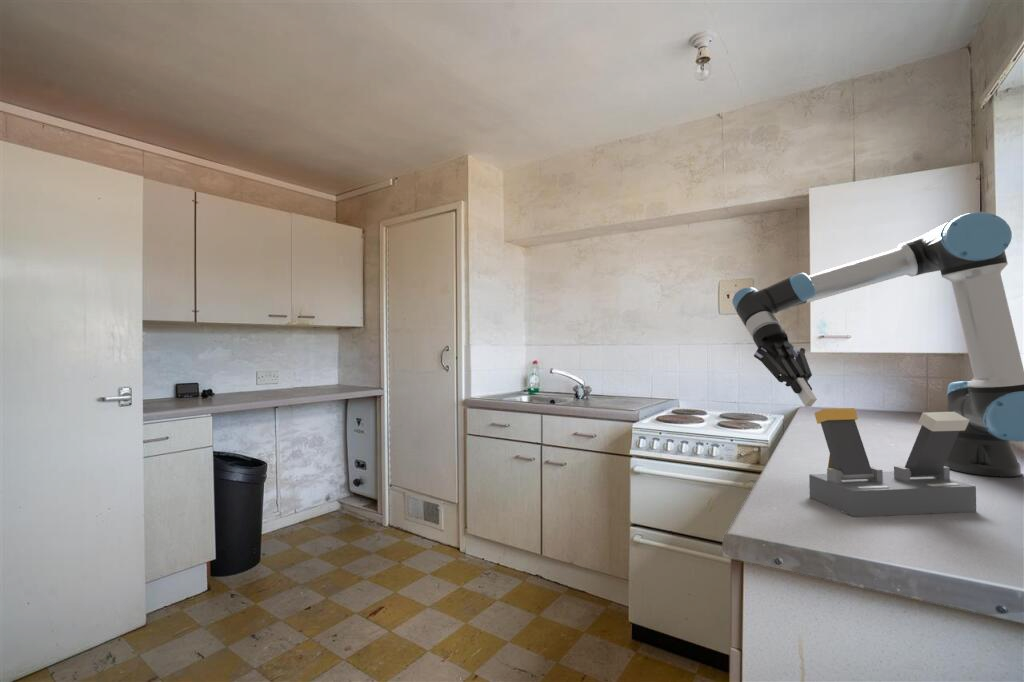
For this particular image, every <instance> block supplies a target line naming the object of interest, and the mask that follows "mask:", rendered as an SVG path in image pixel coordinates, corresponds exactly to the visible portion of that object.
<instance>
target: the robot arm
mask: <svg viewBox="0 0 1024 682" xmlns="http://www.w3.org/2000/svg"><path fill="white" fill-rule="evenodd" d="M1012 233H1013V232H1012V230H1011V226H1010V224H1008V223H1007V221H1006V220H1004V218H1002V217H1001V216H998V215H996V214H993V213H990V212H984V211H976V212H970V213H965V214H961V215H959V216H955V217H954V218H952V219H950V220H949V221H947V222H946V223H944V224H942V225H939V226H937V227H935V228H934V229H932V230H929V232H926V233H924V234H923V235H921V236H918V237H916V238H914V239H912V240H909V241H906V242H903V243H899V244H898V246H897V248H894V249H892V250H889V251H886V252H881V253H879V254H875V255H873V256H868V257H865V258H861V259H860V260H856V261H852V262H849V263H846V264H843V265H840V266H836V267H832V268H829V269H825V270H823V271H820V272H818V273H813V274H810V275H808V274H807V273H805V272H800V273H797V274H795V275H790V276H788V277H787V278H784V279H782V280H781V281H778V282H775V283H774V284H772V285H770V286H768V287H766V288H763V289H760V290H758V289H756V288H755V287H751V286H750V287H744V288H741V289H739V290H738V291H737V292H736V293H735V294H733V297H732V305H733V307H734V309H735V312H736V314H737V316H738V317H739V318H740V320H741V321H742V324H743V325H744V327H745V328H746V330H747V332H748V333H749V335H750V337H751V338H752V340H753V342H754V343H755V346H756V347H757V349H756V350H755V353H754V354H753V357H754V358H755V359H757V360H759V361H760V362H761V364H762V365H764V367H765V368H766V369H767V370H768V371H769V372H770V373H771V374H772V375H773V377H774V378H775V379H776V380H777V381H778V382H779V383H783V382H785V384H784V385H785V386H786V387H789V388H791V389H792V391H793V393H795V394H796V395H798V398H799V399H800V400H801V403H802V404H803V405H804V407H808V408H809V407H812V406H813V405H814V404H815V402H816V401H817V400H818V399H817V397H816V396H815V394H814V392H813V388H812V386H811V385H810V383H809V382H808V381H809V380H810V378H811V377H812V376H813V374H812V370H811V368H810V365H809V363H808V359H807V357H806V349H805V348H803V347H800V349H799V348H796V347H795V346H794V345H793V344H792V343H791V342H790V341H789V336H788V334H787V333H786V331H785V330H784V328H783V326H782V325H781V324H780V322H779V321H778V319H777V318H776V316H775V315H774V314H777V313H779V312H782V311H785V310H789V309H790V308H794V307H797V306H798V307H799V306H801V305H802V306H803V305H804V304H805V305H806V304H807V303H811V302H812V303H813V302H814V301H818V300H823V299H824V298H828V297H834V296H836V295H839V294H843V293H846V292H849V291H853V290H856V289H860V288H864V287H867V286H870V285H874V284H878V283H882V282H885V281H889V280H893V279H896V278H900V277H903V276H909V277H917V276H919V275H924V274H928V273H929V274H930V273H933V272H939V271H940V275H941V277H942V278H943V279H945V280H947V281H949V282H951V285H952V289H953V293H954V298H955V302H956V307H957V311H958V315H959V318H960V324H961V329H962V331H963V336H964V341H965V344H966V349H967V353H968V358H969V362H970V367H971V371H972V375H973V378H972V379H971V380H969V381H965V380H964V381H953V382H950V383H949V384H948V385H947V392H946V398H947V399H946V401H947V404H946V405H947V412H956V413H958V414H959V415H961V416H963V417H965V418H967V419H969V420H970V421H969V423H968V425H967V427H966V429H965V431H960V432H959V434H958V436H957V438H956V441H955V443H954V445H953V447H952V450H951V452H950V454H949V456H948V458H947V461H946V463H945V465H944V466H945V467H949V468H950V470H951V471H957V472H961V473H965V474H966V473H967V474H972V475H978V476H979V475H980V476H987V477H988V476H989V477H998V476H1000V477H999V478H1001V477H1003V478H1006V477H1007V478H1010V477H1011V478H1013V477H1014V476H1015V477H1019V475H1020V476H1021V475H1022V468H1021V464H1020V463H1019V461H1018V459H1017V455H1016V453H1015V451H1014V449H1013V446H1012V444H1011V442H1017V443H1018V442H1019V443H1024V365H1023V361H1022V357H1021V353H1020V350H1019V345H1018V340H1017V335H1016V331H1015V328H1014V324H1013V323H1014V322H1013V320H1012V316H1011V311H1010V308H1009V303H1008V299H1007V296H1006V295H1007V294H1006V291H1005V286H1004V282H1003V278H1002V275H1001V273H1002V271H1004V269H1005V268H1006V267H1007V266H1008V265H1009V263H1008V259H1007V255H1006V250H1007V249H1008V247H1009V245H1010V244H1011V241H1012V239H1013V238H1012V237H1013V236H1012V235H1013V234H1012ZM1015 477H1014V478H1015Z"/></svg>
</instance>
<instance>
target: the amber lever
mask: <svg viewBox="0 0 1024 682" xmlns="http://www.w3.org/2000/svg"><path fill="white" fill-rule="evenodd" d="M813 414H814V415H815V420H816V423H817V424H819V425H820V424H821V428H822V431H823V435H824V439H825V442H826V444H827V448H828V452H829V456H830V455H831V459H832V462H833V465H834V468H835V469H836V470H839V471H841V475H842V480H856V479H873V478H874V473H873V472H872V470H871V467H872V466H871V465H870V461H869V457H868V456H867V452H866V449H865V446H864V444H863V443H864V442H863V441H862V437H861V435H860V431H859V429H858V426H857V423H856V421H857V420H859V417H858V415H857V412H856V409H855V408H854V407H853V408H850V407H848V408H823V409H821V410H818V411H815V412H814V413H813Z"/></svg>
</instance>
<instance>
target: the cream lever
mask: <svg viewBox="0 0 1024 682" xmlns="http://www.w3.org/2000/svg"><path fill="white" fill-rule="evenodd" d="M969 421H970V420H969V419H967V418H965V417H963V416H961V415H959V414H958V413H956V412H948V411H931V412H930V411H929V412H924V411H922V413H921V415H920V418H919V420H918V424H920V425H921V427H920V429H919V431H918V433H917V436H916V439H915V442H914V443H913V445H912V449H911V450H910V453H909V455H908V458H907V461H906V463H905V465H904V468H908V469H910V478H911V477H939V476H940V475H941V472H942V470H943V467H944V465H945V463H946V461H947V458H948V456H949V454H950V452H951V450H952V447H953V445H954V443H955V441H956V438H957V436H958V434H959V432H960V431H965V429H966V427H967V425H968V423H969Z"/></svg>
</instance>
